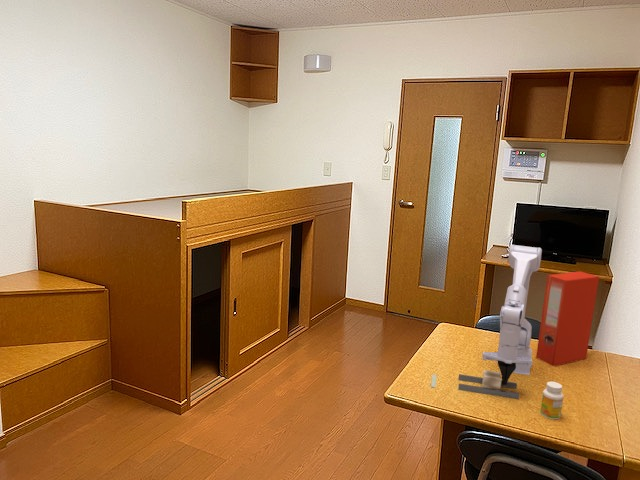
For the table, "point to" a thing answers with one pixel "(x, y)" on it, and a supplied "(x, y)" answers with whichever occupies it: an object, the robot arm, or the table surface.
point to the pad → (433, 381)
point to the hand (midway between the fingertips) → (504, 383)
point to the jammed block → (491, 379)
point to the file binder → (567, 317)
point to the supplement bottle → (552, 401)
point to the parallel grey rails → (487, 390)
